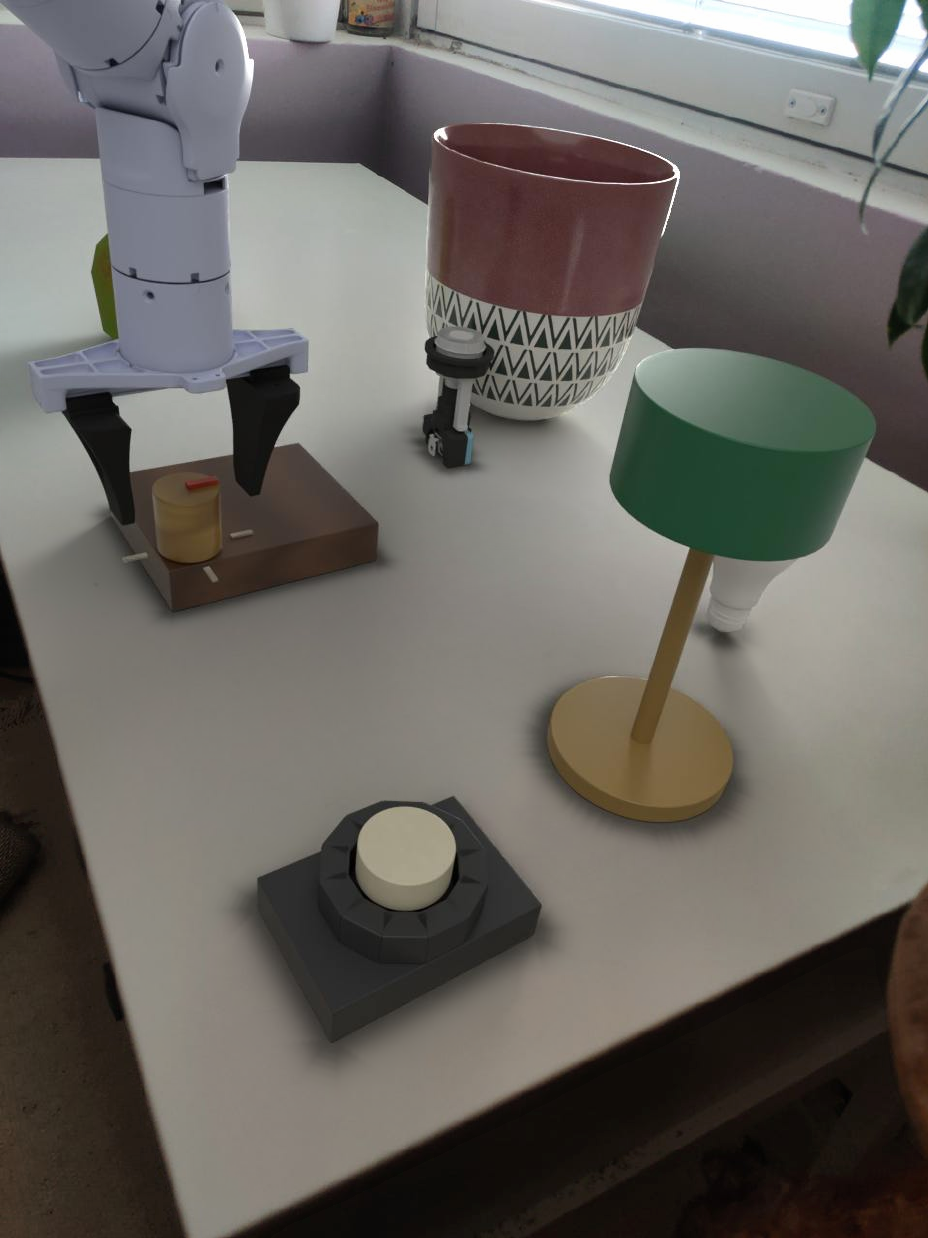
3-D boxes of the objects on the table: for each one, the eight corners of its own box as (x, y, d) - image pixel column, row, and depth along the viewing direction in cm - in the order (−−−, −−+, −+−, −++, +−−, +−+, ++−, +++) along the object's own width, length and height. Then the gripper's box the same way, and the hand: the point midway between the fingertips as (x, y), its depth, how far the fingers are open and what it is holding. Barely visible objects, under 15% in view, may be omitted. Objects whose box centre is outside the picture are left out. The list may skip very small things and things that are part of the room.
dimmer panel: (150, 640, 54) (146, 596, 52) (79, 520, 63) (73, 479, 61) (391, 576, 62) (395, 535, 60) (298, 478, 71) (299, 440, 69)
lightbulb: (774, 621, 63) (832, 477, 57) (758, 670, 59) (819, 520, 52) (687, 591, 65) (734, 447, 58) (664, 637, 60) (712, 487, 54)
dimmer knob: (170, 569, 54) (164, 505, 52) (148, 536, 57) (141, 473, 54) (232, 555, 56) (230, 492, 54) (208, 523, 59) (205, 462, 56)
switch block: (331, 1044, 36) (335, 987, 34) (257, 908, 41) (256, 849, 38) (534, 935, 41) (550, 878, 39) (449, 825, 46) (458, 768, 43)
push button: (396, 436, 78) (406, 318, 72) (451, 428, 81) (465, 313, 75) (433, 473, 74) (447, 351, 68) (491, 464, 76) (509, 345, 70)
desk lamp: (629, 851, 46) (763, 470, 33) (510, 723, 52) (585, 362, 39) (765, 781, 51) (926, 428, 38) (642, 672, 57) (746, 337, 44)
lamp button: (385, 927, 37) (388, 900, 36) (338, 854, 39) (339, 827, 38) (469, 887, 39) (475, 860, 38) (419, 820, 41) (423, 793, 40)
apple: (197, 317, 93) (191, 202, 87) (244, 358, 87) (242, 237, 80) (83, 330, 88) (68, 207, 81) (125, 375, 81) (112, 245, 74)
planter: (453, 464, 75) (490, 178, 62) (380, 366, 89) (398, 116, 76) (658, 448, 82) (729, 188, 69) (560, 360, 96) (605, 130, 83)
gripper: (46, 308, 40) (85, 567, 48) (339, 278, 48) (330, 506, 56) (-2, 256, 45) (42, 503, 53) (275, 236, 52) (275, 455, 60)
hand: (187, 501), depth 55 cm, fingers open, 7 cm apart
